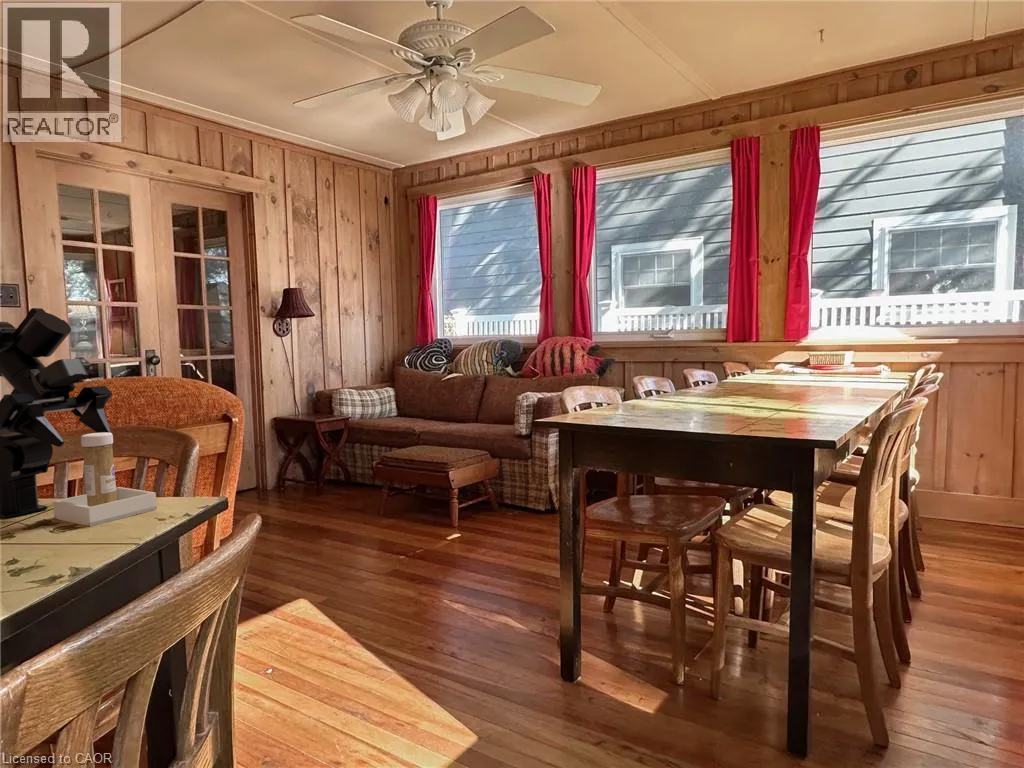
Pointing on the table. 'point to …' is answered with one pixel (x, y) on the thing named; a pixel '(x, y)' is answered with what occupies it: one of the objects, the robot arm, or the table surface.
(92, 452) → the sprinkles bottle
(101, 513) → the grey bin
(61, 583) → the table surface
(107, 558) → the table surface
